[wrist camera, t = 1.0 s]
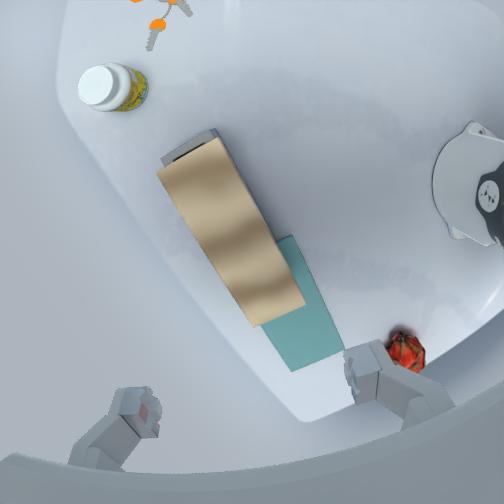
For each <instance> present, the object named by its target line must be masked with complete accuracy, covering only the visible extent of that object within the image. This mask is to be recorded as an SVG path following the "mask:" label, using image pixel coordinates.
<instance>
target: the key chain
mask: <svg viewBox="0 0 504 504" xmlns="http://www.w3.org/2000/svg"><path fill="white" fill-rule="evenodd" d="M130 1H132V2H140V1H142V0H130ZM159 1H161V2H169V8H168V11H167V12H166V14H165V15H164V16H163V17H162V18H161V19H156V20H154V21H152V23H151V24H150V28H149V29H151V31H152V32H150V35H151V37H149V38H148V40H149V42H147V43H148V46H146V48H147V49H146V50H148V51H152V49H153V46H154V43H155V40H156V37H157V35H158V33H159V32H161V31H162V30H164V29H165V27H166V23H165V21H164V20H163V18H165V17H166V15H168V12H170V9H171V5H178V6H179V7H180V8H181V9H182V10H183V12H184V13H185V14H186V15H187V16H188V17H190V16H192V15H193V13H192V11H191V10H190V9H191V8H188V7H189V5H187V4H185V3H186V1H185V0H184V1H183V0H159Z"/></svg>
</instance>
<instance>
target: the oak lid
mask: <svg viewBox="0 0 504 504" xmlns="http://www.w3.org/2000/svg"><path fill="white" fill-rule="evenodd" d="M156 174H157V176H158V178H159V179H160V181H161V183H162V184H163V186H164V188H165V189H166V191H167V193H168V194H169V196H170V198H171V199H172V201H173V203H174V204H175V206H176V207H177V209H178V211H179V212H180V214H181V216H182V217H183V219H184V221H185V222H186V224H187V225H188V227H189V229H190V230H191V232H192V233H193V235H194V237H195V238H196V240H197V241H198V243H199V245H200V246H201V248H202V249H203V251H204V253H205V254H206V256H207V257H208V259H209V260H210V262H211V264H212V265H213V267H214V268H215V270H216V271H217V273H218V274H219V276H220V278H221V279H222V281H223V282H224V284H225V285H226V287H227V288H228V290H229V291H230V293H231V295H232V296H233V298H234V299H235V301H236V302H237V304H238V305H239V307H240V308H241V310H242V311H243V313H244V314H245V316H246V317H247V319H248V320H249V322H250V323H251V325H252V326H253V328H254V327H256V326H259V325H261V324H263V323H266V322H268V321H270V320H273V319H275V318H277V317H280V316H282V315H284V314H286V313H289V312H291V311H293V310H295V309H298V308H300V307H302V306H304V305H306V302H305V299H304V296H303V294H302V292H301V290H300V288H299V286H298V284H297V282H296V280H295V278H294V276H293V274H292V272H291V270H290V268H289V267H288V265H287V263H286V261H285V259H284V257H283V255H282V253H281V251H280V249H279V247H278V245H277V243H276V242H275V240H274V238H273V236H272V234H271V232H270V230H269V228H268V226H267V224H266V223H265V221H264V219H263V217H262V215H261V213H260V211H259V209H258V208H257V206H256V204H255V202H254V200H253V198H252V196H251V194H250V193H249V191H248V189H247V187H246V185H245V183H244V181H243V180H242V178H241V176H240V174H239V172H238V170H237V169H236V167H235V165H234V163H233V161H232V159H231V158H230V156H229V154H228V152H227V150H226V149H225V147H224V145H223V143H222V141H221V139H220V138H219V137H217V138H215V139H213V140H211V141H209V142H208V143H206V144H204V145H202V146H200V147H199V148H197V149H195V150H193V151H191V152H190V153H188V154H186V155H184V156H183V157H181V158H179V159H178V160H176V161H174V162H173V163H171V164H169V165H168V166H166V167H164V168H163V169H161V170H160V171H158V172H157V173H156Z"/></svg>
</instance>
